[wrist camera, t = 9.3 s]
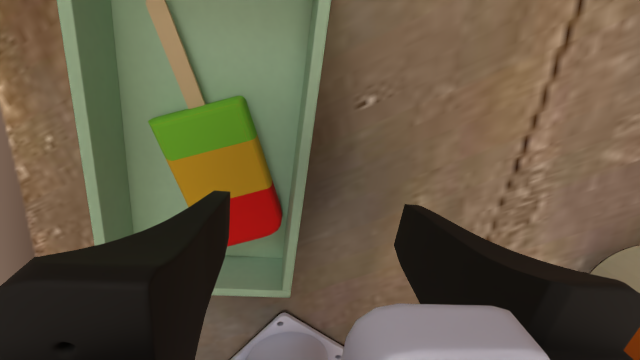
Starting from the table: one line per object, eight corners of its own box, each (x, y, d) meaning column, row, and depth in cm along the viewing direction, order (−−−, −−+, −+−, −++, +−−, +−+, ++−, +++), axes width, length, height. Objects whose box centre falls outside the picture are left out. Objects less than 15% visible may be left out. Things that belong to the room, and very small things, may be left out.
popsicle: (213, 239, 23) (207, 255, 21) (109, 11, 17) (89, 7, 15) (286, 219, 23) (287, 234, 21) (210, -15, 17) (201, -22, 15)
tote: (288, 260, 25) (290, 298, 21) (130, 252, 23) (101, 292, 19) (328, -40, 17) (340, -62, 14) (94, -87, 15) (35, -128, 12)
